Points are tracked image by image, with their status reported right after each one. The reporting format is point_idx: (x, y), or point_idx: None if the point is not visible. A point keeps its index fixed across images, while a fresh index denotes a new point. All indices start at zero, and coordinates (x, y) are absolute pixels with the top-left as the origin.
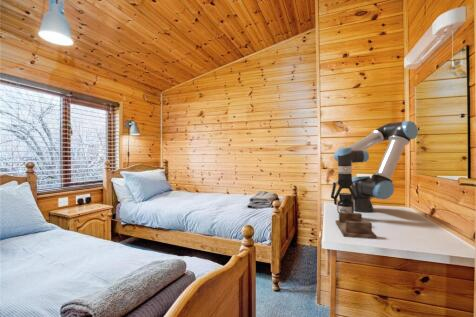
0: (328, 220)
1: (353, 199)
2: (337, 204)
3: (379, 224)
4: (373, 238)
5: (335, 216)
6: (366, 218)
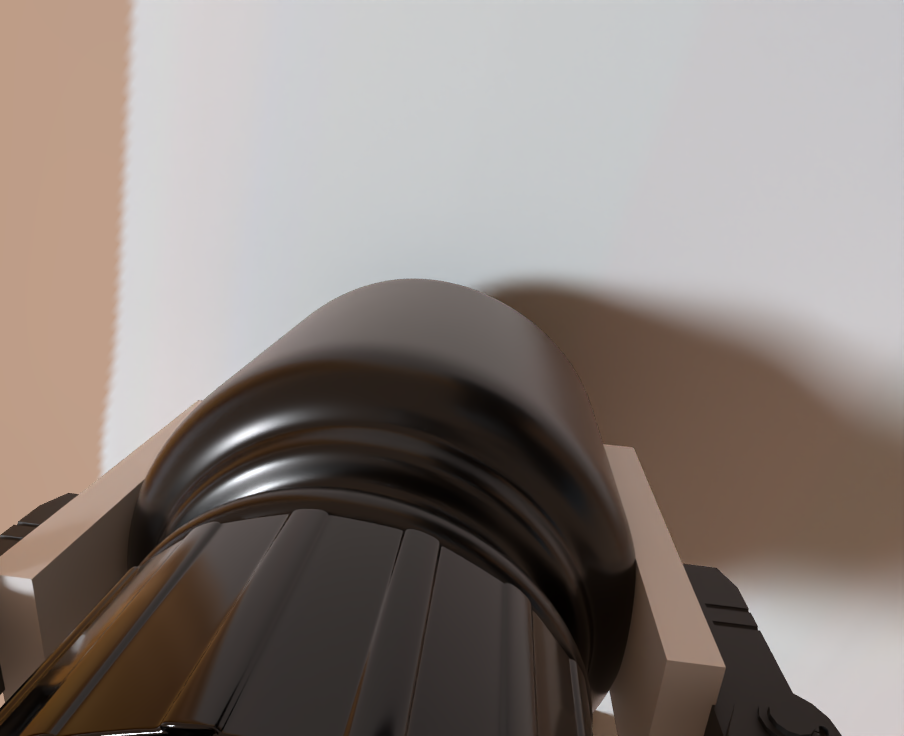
0: None
1: (688, 713)
2: None
3: (852, 704)
4: None
5: (264, 309)
6: (840, 397)
